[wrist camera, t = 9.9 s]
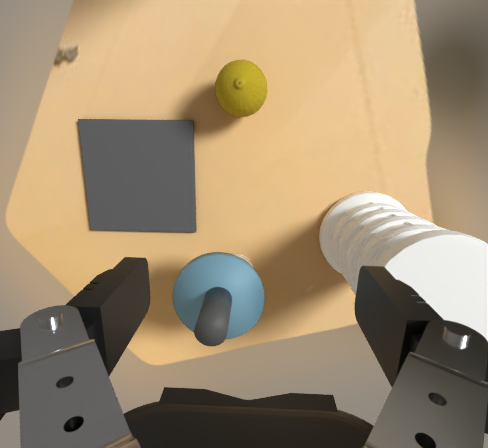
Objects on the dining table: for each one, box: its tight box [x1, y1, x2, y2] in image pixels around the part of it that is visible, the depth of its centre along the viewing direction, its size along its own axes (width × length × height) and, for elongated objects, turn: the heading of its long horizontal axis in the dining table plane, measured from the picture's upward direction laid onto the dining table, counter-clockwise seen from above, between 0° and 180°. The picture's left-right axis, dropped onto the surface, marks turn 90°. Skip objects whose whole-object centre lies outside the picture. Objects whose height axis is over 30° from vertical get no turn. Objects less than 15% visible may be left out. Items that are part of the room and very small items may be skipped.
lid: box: [173, 252, 265, 346], centre depth 32 cm, size 10×10×7 cm
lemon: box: [215, 60, 267, 117], centre depth 34 cm, size 6×6×8 cm
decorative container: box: [319, 191, 488, 341], centre depth 33 cm, size 12×12×18 cm
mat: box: [78, 119, 196, 232], centre depth 40 cm, size 14×14×1 cm
